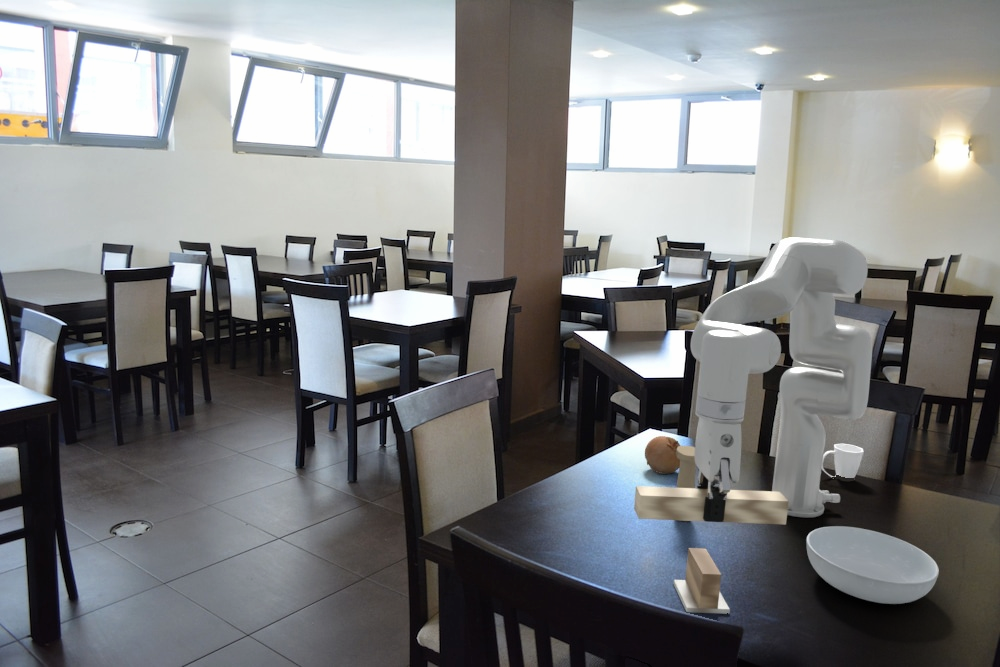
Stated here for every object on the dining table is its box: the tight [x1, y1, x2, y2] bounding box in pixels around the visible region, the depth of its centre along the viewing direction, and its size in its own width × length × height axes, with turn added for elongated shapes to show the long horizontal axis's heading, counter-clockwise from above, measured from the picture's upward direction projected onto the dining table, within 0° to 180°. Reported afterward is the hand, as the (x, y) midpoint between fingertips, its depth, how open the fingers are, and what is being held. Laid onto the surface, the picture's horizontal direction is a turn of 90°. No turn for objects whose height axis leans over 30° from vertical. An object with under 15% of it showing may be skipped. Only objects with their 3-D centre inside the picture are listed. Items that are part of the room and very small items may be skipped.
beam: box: [633, 485, 789, 525], centre depth 122 cm, size 24×4×4 cm, turn 90°
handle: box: [675, 445, 697, 522], centre depth 155 cm, size 5×6×15 cm
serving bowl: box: [805, 525, 940, 605], centre depth 131 cm, size 21×21×7 cm
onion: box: [644, 435, 681, 475], centre depth 183 cm, size 10×9×10 cm
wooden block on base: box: [673, 547, 731, 615], centre depth 125 cm, size 7×9×7 cm
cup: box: [821, 442, 865, 478], centre depth 184 cm, size 7×10×8 cm
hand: (709, 513), depth 122 cm, fingers closed on beam, 4 cm apart
